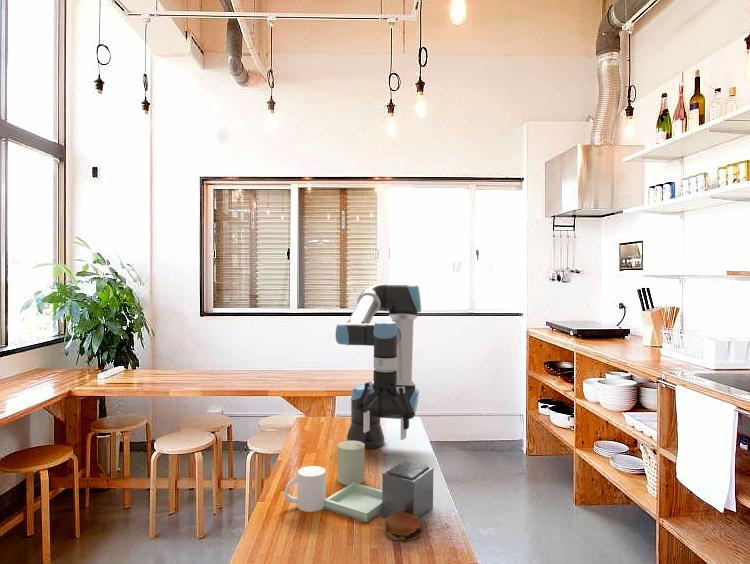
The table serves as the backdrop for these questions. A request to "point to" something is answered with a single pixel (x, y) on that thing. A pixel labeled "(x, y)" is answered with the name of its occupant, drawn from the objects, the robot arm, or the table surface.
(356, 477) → the can
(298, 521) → the table surface
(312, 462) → the table surface
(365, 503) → the tray
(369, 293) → the robot arm
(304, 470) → the mug
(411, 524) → the burger
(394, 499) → the unit
